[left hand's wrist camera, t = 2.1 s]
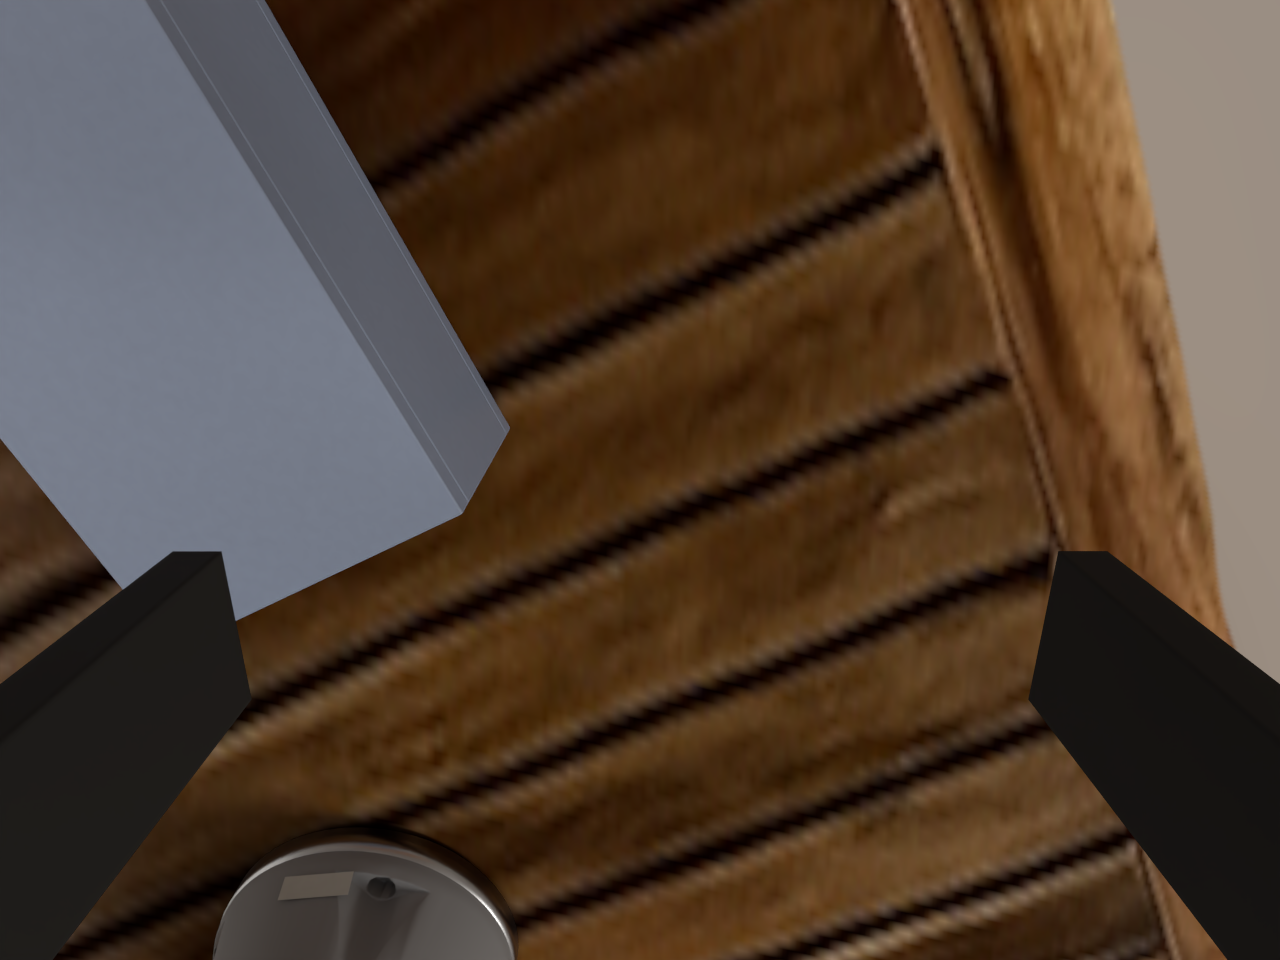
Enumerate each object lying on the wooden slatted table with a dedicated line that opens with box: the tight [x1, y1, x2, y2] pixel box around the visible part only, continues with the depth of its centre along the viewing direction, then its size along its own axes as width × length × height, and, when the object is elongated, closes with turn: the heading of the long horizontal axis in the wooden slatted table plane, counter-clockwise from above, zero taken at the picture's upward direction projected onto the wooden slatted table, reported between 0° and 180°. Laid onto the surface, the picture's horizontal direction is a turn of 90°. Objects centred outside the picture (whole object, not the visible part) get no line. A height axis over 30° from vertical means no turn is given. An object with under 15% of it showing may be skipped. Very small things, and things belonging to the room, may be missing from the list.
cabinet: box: [0, 0, 510, 620], centre depth 26 cm, size 21×11×9 cm, turn 26°
